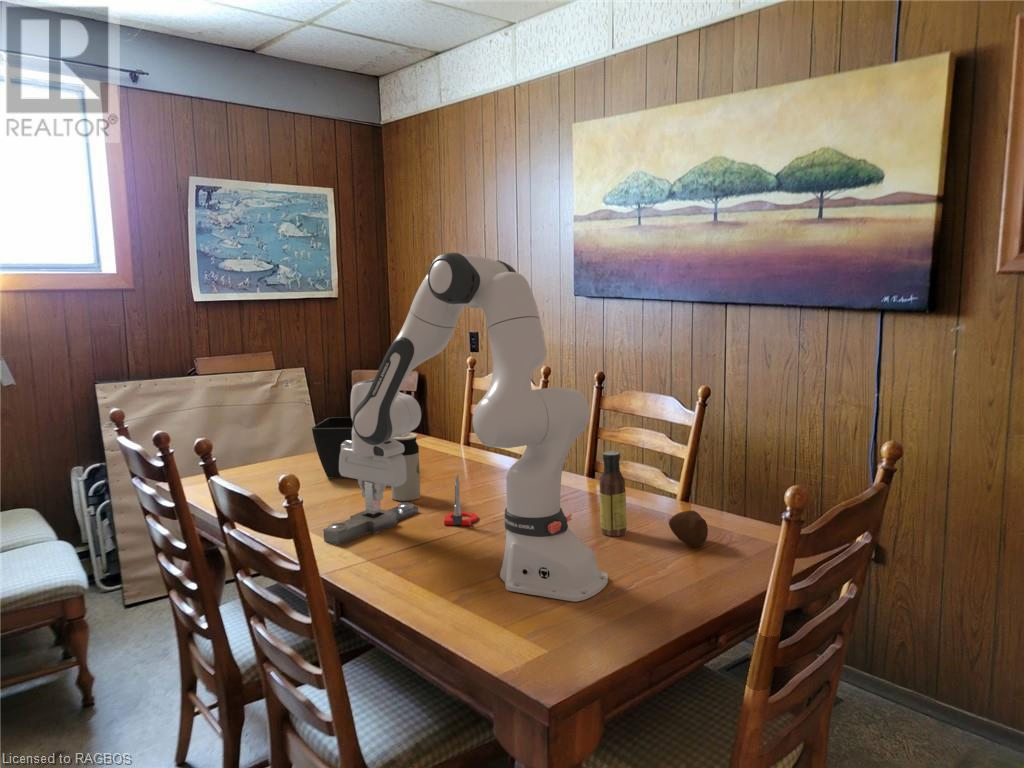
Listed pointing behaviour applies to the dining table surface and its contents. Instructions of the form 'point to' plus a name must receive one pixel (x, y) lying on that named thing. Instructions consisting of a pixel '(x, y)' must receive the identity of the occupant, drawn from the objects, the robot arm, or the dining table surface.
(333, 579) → the dining table surface
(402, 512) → the chain end
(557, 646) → the dining table surface
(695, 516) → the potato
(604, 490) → the sauce bottle
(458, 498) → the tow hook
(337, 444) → the flower pot
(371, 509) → the pin
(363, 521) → the bar
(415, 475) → the travel mug
